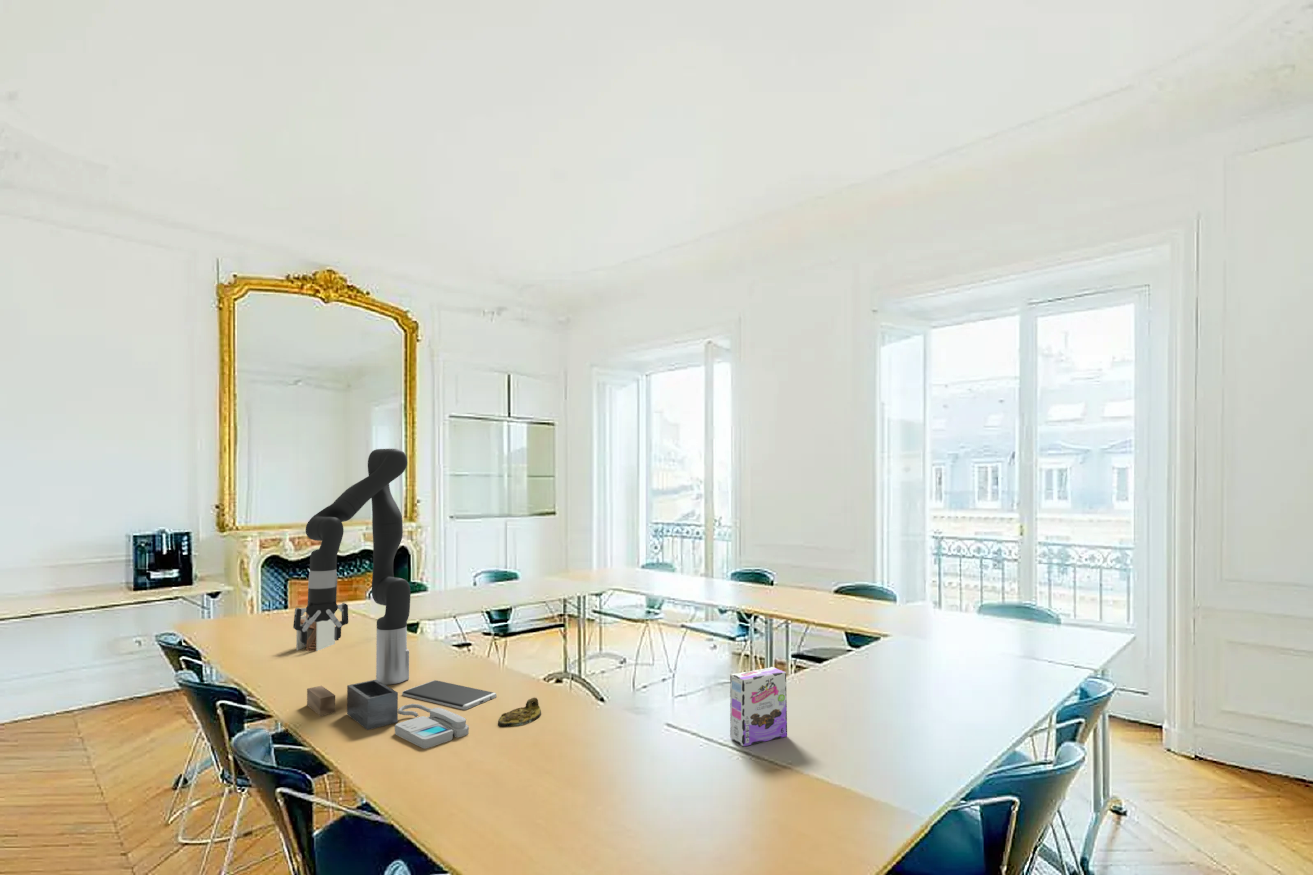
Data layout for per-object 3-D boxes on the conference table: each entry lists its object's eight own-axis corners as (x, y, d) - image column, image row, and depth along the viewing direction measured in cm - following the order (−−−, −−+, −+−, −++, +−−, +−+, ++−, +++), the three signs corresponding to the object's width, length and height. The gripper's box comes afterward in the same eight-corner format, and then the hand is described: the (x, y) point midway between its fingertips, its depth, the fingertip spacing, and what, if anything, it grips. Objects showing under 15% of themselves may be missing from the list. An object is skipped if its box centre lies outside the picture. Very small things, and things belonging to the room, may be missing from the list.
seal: (514, 735, 183) (550, 716, 196) (515, 717, 183) (551, 700, 196) (487, 725, 188) (524, 707, 201) (489, 707, 188) (526, 691, 200)
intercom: (420, 697, 198) (470, 717, 181) (420, 712, 198) (470, 734, 181) (375, 709, 188) (423, 732, 171) (375, 725, 188) (423, 750, 171)
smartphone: (464, 712, 198) (464, 706, 198) (400, 697, 212) (400, 691, 212) (497, 698, 210) (497, 692, 210) (434, 684, 223) (434, 679, 223)
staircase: (296, 651, 265) (296, 607, 266) (314, 644, 276) (315, 601, 276) (316, 652, 263) (317, 608, 264) (334, 644, 274) (335, 602, 275)
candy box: (743, 747, 170) (742, 679, 171) (729, 739, 176) (728, 673, 176) (788, 737, 177) (787, 671, 178) (774, 729, 182) (773, 665, 183)
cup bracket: (375, 707, 201) (376, 679, 201) (397, 722, 189) (397, 692, 190) (347, 714, 196) (347, 685, 196) (367, 730, 184) (367, 699, 184)
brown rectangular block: (321, 702, 206) (321, 685, 206) (335, 713, 197) (335, 695, 198) (306, 706, 204) (307, 688, 204) (320, 716, 195) (320, 698, 195)
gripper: (344, 582, 210) (343, 636, 209) (292, 586, 201) (290, 643, 200) (352, 585, 204) (350, 641, 203) (298, 589, 195) (296, 648, 194)
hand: (320, 642), depth 202 cm, fingers open, 8 cm apart
